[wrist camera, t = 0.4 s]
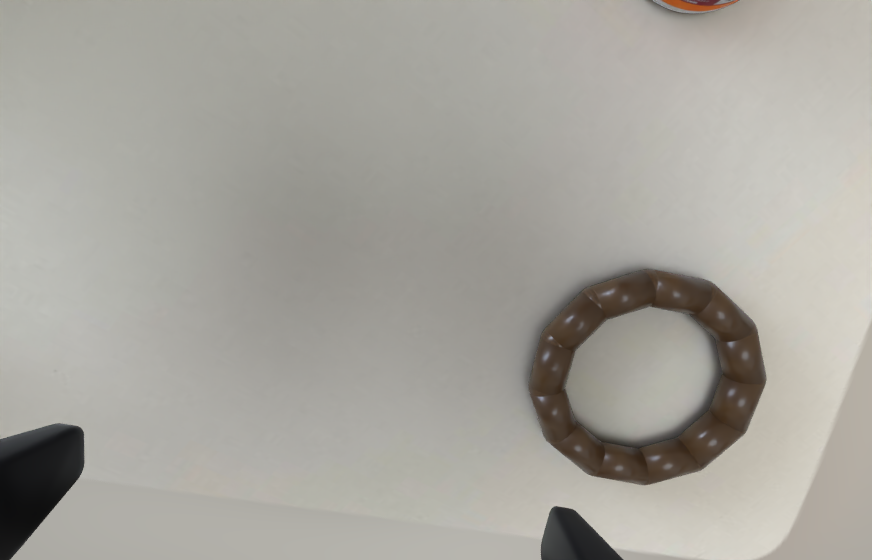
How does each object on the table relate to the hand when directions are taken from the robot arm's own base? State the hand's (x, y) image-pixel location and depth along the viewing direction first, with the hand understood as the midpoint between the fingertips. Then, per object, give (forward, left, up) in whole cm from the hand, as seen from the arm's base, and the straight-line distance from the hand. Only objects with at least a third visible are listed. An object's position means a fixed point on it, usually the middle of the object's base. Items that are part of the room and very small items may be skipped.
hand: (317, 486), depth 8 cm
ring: (-1, -12, -12) cm, 17 cm away
